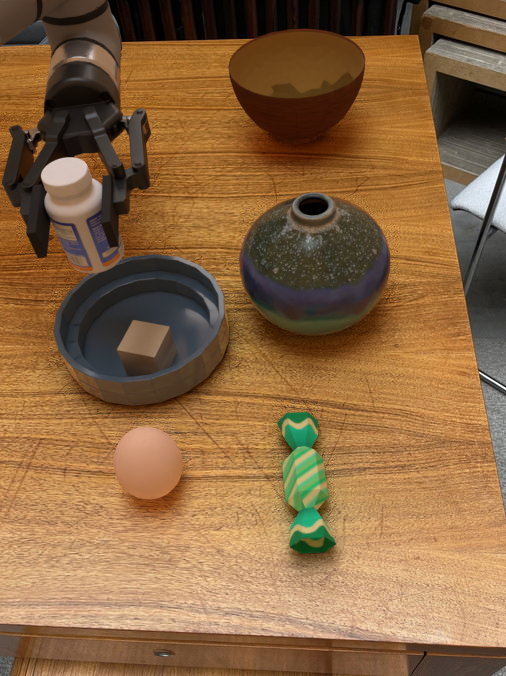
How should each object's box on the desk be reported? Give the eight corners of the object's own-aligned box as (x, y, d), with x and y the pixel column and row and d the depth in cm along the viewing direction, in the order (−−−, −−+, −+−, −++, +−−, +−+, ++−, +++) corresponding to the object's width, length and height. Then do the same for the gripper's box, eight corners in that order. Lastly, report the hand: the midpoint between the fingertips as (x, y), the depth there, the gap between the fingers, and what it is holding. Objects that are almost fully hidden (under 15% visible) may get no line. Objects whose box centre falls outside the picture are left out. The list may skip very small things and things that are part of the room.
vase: (379, 366, 64) (390, 269, 53) (231, 350, 66) (213, 254, 56) (391, 261, 73) (402, 160, 62) (260, 250, 75) (249, 151, 65)
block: (126, 374, 65) (116, 349, 61) (142, 345, 67) (133, 319, 64) (163, 382, 64) (154, 357, 61) (177, 351, 66) (170, 326, 63)
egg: (163, 443, 60) (145, 397, 54) (201, 482, 57) (187, 439, 51) (113, 482, 58) (88, 439, 52) (150, 525, 55) (128, 484, 49)
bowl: (380, 112, 92) (386, 41, 84) (329, 182, 83) (330, 110, 75) (273, 88, 97) (268, 20, 89) (213, 151, 88) (202, 81, 80)
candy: (270, 428, 59) (293, 405, 57) (301, 436, 61) (325, 414, 58) (281, 552, 52) (308, 533, 49) (316, 557, 54) (344, 539, 51)
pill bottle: (120, 232, 63) (92, 145, 56) (129, 267, 60) (100, 180, 53) (66, 245, 63) (29, 159, 55) (72, 282, 60) (34, 196, 52)
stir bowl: (34, 367, 67) (18, 339, 63) (136, 265, 75) (127, 236, 72) (165, 435, 61) (155, 409, 57) (260, 316, 69) (256, 286, 66)
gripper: (177, 116, 71) (190, 257, 57) (10, 139, 70) (-19, 288, 56) (163, 48, 65) (174, 187, 51) (-20, 72, 64) (-60, 220, 50)
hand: (73, 239), depth 53 cm, fingers closed on pill bottle, 5 cm apart
